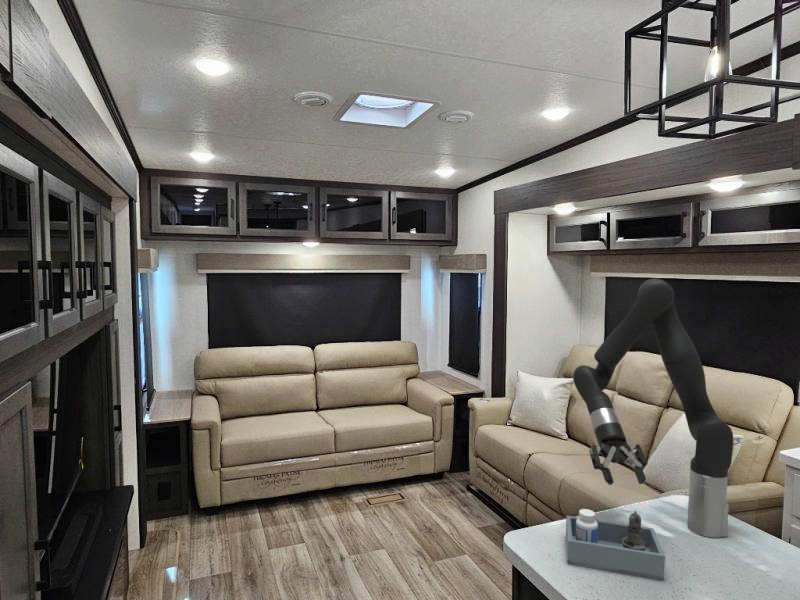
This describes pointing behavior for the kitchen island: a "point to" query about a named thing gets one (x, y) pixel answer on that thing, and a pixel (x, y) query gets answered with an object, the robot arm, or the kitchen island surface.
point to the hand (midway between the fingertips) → (626, 483)
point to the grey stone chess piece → (634, 534)
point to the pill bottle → (586, 526)
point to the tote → (615, 551)
